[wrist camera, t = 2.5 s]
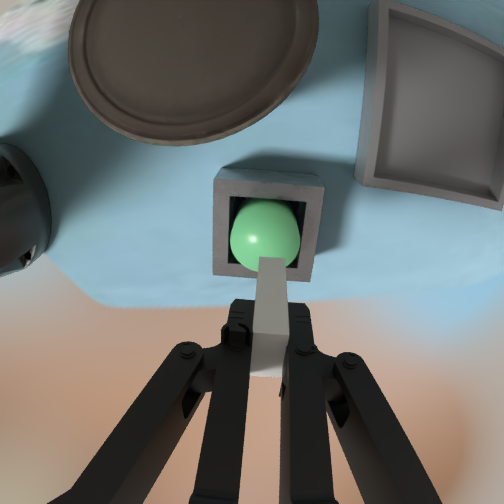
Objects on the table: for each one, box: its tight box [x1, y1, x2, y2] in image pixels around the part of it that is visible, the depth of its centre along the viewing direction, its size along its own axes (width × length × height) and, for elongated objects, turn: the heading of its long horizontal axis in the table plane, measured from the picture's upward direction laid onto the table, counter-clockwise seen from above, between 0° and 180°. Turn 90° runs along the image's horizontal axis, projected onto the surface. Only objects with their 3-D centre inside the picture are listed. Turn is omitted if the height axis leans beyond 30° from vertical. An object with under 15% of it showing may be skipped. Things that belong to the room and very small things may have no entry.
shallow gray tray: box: [353, 0, 504, 211], centre depth 20 cm, size 16×16×3 cm
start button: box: [230, 197, 300, 272], centre depth 24 cm, size 5×5×4 cm
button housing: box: [213, 168, 325, 282], centre depth 26 cm, size 8×8×4 cm
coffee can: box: [68, 0, 319, 146], centre depth 15 cm, size 10×10×14 cm
